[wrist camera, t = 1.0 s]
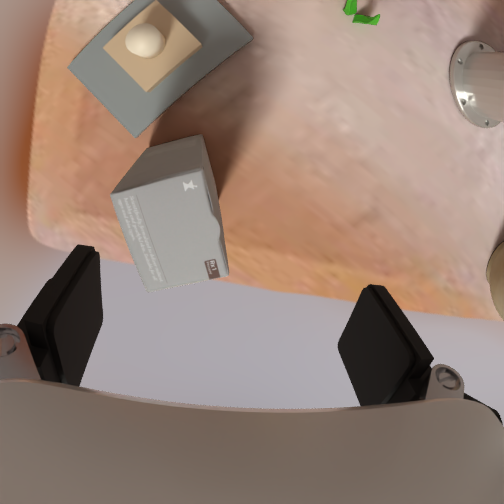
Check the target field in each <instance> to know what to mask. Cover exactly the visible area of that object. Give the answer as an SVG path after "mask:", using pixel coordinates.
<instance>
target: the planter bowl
mask: <svg viewBox="0 0 504 504" xmlns="http://www.w3.org/2000/svg"><path fill="white" fill-rule="evenodd" d="M486 276H487V280H488V282H489V284H490V291H491V296H492V299H493V302H494V305H495V307H496V310H497V311H498V313H499V315H500V316H501V318H502V319H503V321H504V242H502V243H501V244H500V245H499V246H498V247H497V248H496V250H495V251H494V253H493V254H492V256H491V258H490V260H489V263H488V266H487V272H486Z"/></svg>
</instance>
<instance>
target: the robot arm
mask: <svg viewBox="0 0 504 504" xmlns="http://www.w3.org/2000/svg"><path fill="white" fill-rule="evenodd" d="M450 84H451V90H452V94H453V97H454V100H455V102H456V105H457V107H458V108H459V110H460V112H461V113H462V114H463V116H464V117H465V118H466V119H467V120H468V121H469V122H470V123H472V124H474V125H476V126H479V127H482V128H492V127H494V126H496V125H498V124H499V123H500V122H504V52H496V51H495V50H494V49H493V48H491V47H490V46H489V45H487V44H485V43H483V42H480V41H468V42H465V43H463V44H462V45H460V46H459V47H458V48H457V49H456V51H455V53H454V55H453V57H452V60H451V65H450ZM102 322H103V309H102V295H101V278H100V255H99V252H96V251H95V249H94V247H92V246H85V245H77V246H76V247H75V248H74V250H73V251H72V252H71V254H70V255H69V256H68V258H67V259H66V260H65V262H64V263H63V264H62V266H61V267H60V268H59V269H58V271H57V272H56V274H55V275H54V277H53V278H52V279H49V280H48V281H47V283H46V284H45V285H44V287H43V288H42V289H41V291H40V292H39V294H38V295H37V297H36V298H35V299H34V301H33V302H32V304H31V305H30V307H29V308H28V310H27V311H26V313H25V314H24V316H23V317H22V319H21V321H20V322H19V324H18V325H17V326H15V325H12V324H0V504H504V427H503V424H502V420H501V418H500V415H499V413H498V412H497V411H496V410H495V409H492V408H491V407H489V406H487V405H485V404H483V403H481V402H480V401H478V400H476V399H474V398H473V397H471V396H469V395H467V394H465V393H464V382H463V379H462V377H461V376H460V374H459V373H458V372H457V371H455V370H454V369H453V368H451V367H450V366H447V365H444V364H438V365H435V366H434V367H433V368H431V367H430V364H431V362H432V361H433V360H434V357H433V356H432V354H431V353H430V351H429V350H428V348H427V347H426V345H425V344H424V342H423V341H422V339H421V338H420V336H419V335H418V333H417V332H416V330H415V329H414V328H413V326H412V325H411V323H410V322H409V321H408V319H407V317H406V316H405V315H404V313H403V312H402V310H401V309H400V307H399V306H398V305H397V303H396V302H395V300H394V299H393V298H392V296H391V295H390V293H389V292H388V291H387V289H386V288H385V287H384V286H381V285H372V284H370V285H368V286H367V287H366V288H364V289H363V290H362V292H361V294H360V296H359V299H358V301H357V303H356V305H355V308H354V310H353V312H352V314H351V317H350V318H349V321H348V323H347V325H346V327H345V329H344V331H343V333H342V335H341V337H340V339H339V342H338V350H339V353H340V355H341V358H342V361H343V363H344V365H345V368H346V370H347V373H348V375H349V378H350V380H351V383H352V385H353V388H354V390H355V393H356V395H357V398H358V400H359V403H360V407H344V408H323V409H322V408H321V409H256V408H235V407H218V406H206V405H195V404H185V403H176V402H168V401H160V400H153V399H146V398H140V397H133V396H127V395H121V394H115V393H109V392H104V391H99V390H94V389H89V388H83V387H79V386H80V382H81V379H82V377H83V374H84V371H85V368H86V365H87V363H88V360H89V357H90V354H91V352H92V349H93V346H94V343H95V341H96V338H97V336H98V333H99V331H100V328H101V326H102Z"/></svg>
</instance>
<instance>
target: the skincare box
mask: <svg viewBox="0 0 504 504" xmlns="http://www.w3.org/2000/svg"><path fill="white" fill-rule="evenodd" d="M110 196H111V199H112V202H113V205H114V208H115V212H116V215H117V218H118V220H119V223H120V226H121V229H122V232H123V234H124V237H125V240H126V243H127V245H128V248H129V251H130V253H131V256H132V258H133V261H134V263H135V265H136V268H137V270H138V273H139V275H140V277H141V280H142V282H143V284H144V286H145V289H146V291H147V292H148V293H149V292H154V291H158V290H163V289H168V288H173V287H178V286H183V285H188V284H192V283H197V282H202V281H207V280H211V279H216V278H221V277H226V276H228V275H229V267H228V260H227V253H226V247H225V240H224V232H223V225H222V218H221V212H220V206H219V200H218V195H217V190H216V184H215V180H214V176H213V172H212V169H211V165H210V161H209V157H208V154H207V150H206V146H205V142H204V138H203V135H202V134H199V135H195V136H191V137H187V138H183V139H179V140H175V141H171V142H167V143H164V144H160V145H156V146H153V147H149V148H147V149H146V150H145V151H144V152H143V153H142V155H141V156H140V157H139V158H138V160H137V161H136V162H135V163H134V164H133V166H132V167H131V168H130V169H129V171H128V172H127V173H126V175H125V176H124V177H123V178H122V180H121V181H120V182H119V183H118V185H117V186H116V187H115V189H114V190H113V191H112V193H111V194H110Z"/></svg>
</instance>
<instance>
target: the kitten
mask: <svg viewBox="0 0 504 504" xmlns="http://www.w3.org/2000/svg"><path fill="white" fill-rule="evenodd" d="M343 11H344V12H345V14H346V15H352V14H355V13H356V12H357V0H347V3H346V7H345V9H343ZM379 18H380V14H378V15H376V16H374V17H370V16H365V15H355V16H354V19H353V23H363V24H371V25H377V23H378V21H379Z"/></svg>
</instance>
